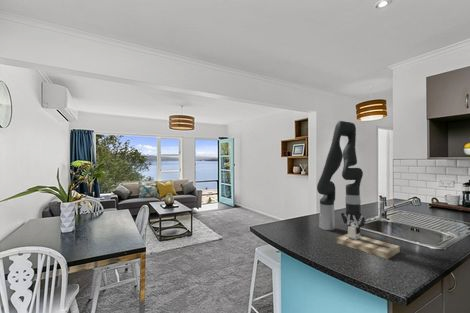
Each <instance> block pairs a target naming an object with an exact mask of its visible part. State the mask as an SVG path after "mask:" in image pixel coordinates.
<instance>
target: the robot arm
mask: <svg viewBox="0 0 470 313" xmlns="http://www.w3.org/2000/svg"><path fill="white" fill-rule="evenodd" d="M334 127H335V128H334V131H333V135H332V140H331V145H330V147H329V151H328V154H327V156H326V160H325V162H324V167H323V169H322V170H323V171H322V172H321V175H320V177H319V179H318V182H317V184H316V189H317V190H316V191H317V193H318V194H320V195H323V196H322V198H320V199H319V214H318V228H320V229H322V230H324V231H334V230H335V228H336V227H335V226H336V225H335V223H336V222H335V201H336V184H335V183H334V182H333V181H332V180H331V179H332V177H333V175H335V173H336V172H337V171H338V170H339V168H340V167H341V164H342V161H343V167H342V171H341V176H342V178H343V179H344V180H346V181H354V182H352V183H349V184H346V185H345V212H341V213H340V215H341V218H342V222H343V223H344V224H345V225H346V227H347V228H346V229H347V230H346V231H348V227H349V226H351V225H352V222H354V224H355V226H356V234H359V233H361V228H363V227H365V224H366V221H367V216H364V215H362V212H361V211H362V210H361V209H362V208H361V207H362V206H361V204H362V202H361V194H360V192H361V191H360V190H361V188H360V187H361V182H362V179H363V176H364V171H363V170H362V169H361V168H360V167H354V166H356V165H357V164H358V158H357V151H356V139H357V136H356V135H357V128H356V124H355V123H354V122H350V121H345V120H338V121H337V123H336V125H335V126H334ZM341 137H347V143H346V145H345V146H344V149H343V150H342V147H341V143H340V142H341Z"/></svg>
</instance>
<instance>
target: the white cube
mask: <svg viewBox="0 0 470 313" xmlns="http://www.w3.org/2000/svg"><path fill="white" fill-rule="evenodd" d="M350 225H351V226H349V227H348V230H347V234H348V235H347V237H348V238H351V239H355V240H356V239H358V238H361V236H362V235H361V234H360V233H361V232H360V233H359V234H356V225H353V224H350Z"/></svg>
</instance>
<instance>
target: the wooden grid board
mask: <svg viewBox="0 0 470 313" xmlns="http://www.w3.org/2000/svg"><path fill="white" fill-rule="evenodd" d="M347 235H348V233H345V234H343V235H340V236H338V237H336V244H339V245H342V246H346V247H348V248H352V249H355V250H357V251H360V252H365V253H367V254H371V255H372V256H376V257H380V258H383V259H386V260H389V259H391V258H392V257H394V256H396V255H397V254H399V253H400V252H401V251H400V249H401V248H400V245H397V244H393V243H391V242H390V243H389V242H386V241H383V240H382V241H381V240H379V239H373V238H371V237H367V236H364V235H360V236H361V238H358V239H356V240H355V239H351V238H348V237H347Z"/></svg>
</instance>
